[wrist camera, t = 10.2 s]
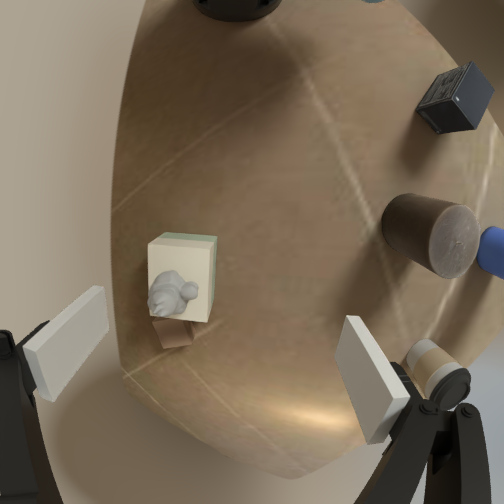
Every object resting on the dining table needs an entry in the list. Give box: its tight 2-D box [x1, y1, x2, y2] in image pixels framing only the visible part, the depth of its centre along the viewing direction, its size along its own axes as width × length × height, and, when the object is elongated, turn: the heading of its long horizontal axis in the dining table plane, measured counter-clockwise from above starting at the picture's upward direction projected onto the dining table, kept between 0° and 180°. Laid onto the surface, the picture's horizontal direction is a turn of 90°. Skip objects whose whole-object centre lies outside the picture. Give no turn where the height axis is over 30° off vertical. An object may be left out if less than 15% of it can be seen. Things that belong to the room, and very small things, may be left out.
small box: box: [416, 61, 494, 134], centre depth 32 cm, size 11×6×10 cm, turn 143°
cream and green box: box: [148, 232, 217, 322], centre depth 40 cm, size 10×8×8 cm
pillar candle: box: [382, 194, 480, 279], centre depth 36 cm, size 10×10×15 cm
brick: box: [152, 316, 196, 349], centre depth 45 cm, size 5×5×4 cm
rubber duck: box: [147, 270, 199, 317], centre depth 33 cm, size 5×7×8 cm
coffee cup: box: [406, 339, 471, 411], centre depth 42 cm, size 9×9×15 cm
